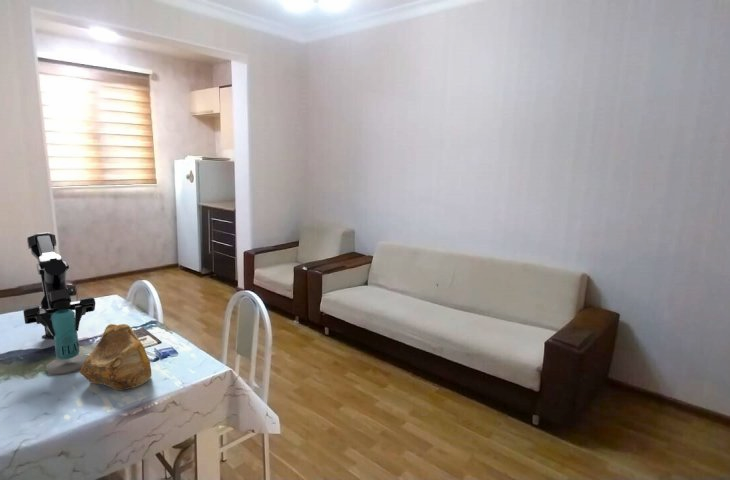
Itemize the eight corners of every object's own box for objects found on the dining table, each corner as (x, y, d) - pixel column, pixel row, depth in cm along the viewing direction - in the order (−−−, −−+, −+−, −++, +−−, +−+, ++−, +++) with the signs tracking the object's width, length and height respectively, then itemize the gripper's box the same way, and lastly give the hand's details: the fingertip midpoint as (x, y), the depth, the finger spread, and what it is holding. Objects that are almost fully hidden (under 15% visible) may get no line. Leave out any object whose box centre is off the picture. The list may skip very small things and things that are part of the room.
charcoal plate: (36, 373, 131) (36, 369, 131) (68, 355, 143) (68, 352, 142) (70, 376, 129) (69, 373, 129) (100, 358, 141) (99, 355, 141)
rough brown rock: (76, 376, 131) (66, 333, 127) (134, 356, 142) (126, 315, 138) (95, 411, 115) (84, 363, 111) (158, 384, 126) (150, 340, 122)
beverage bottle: (60, 366, 131) (52, 306, 127) (53, 360, 135) (44, 301, 131) (84, 358, 136) (77, 300, 132) (76, 352, 140) (68, 296, 136)
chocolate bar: (143, 327, 166) (161, 341, 154) (143, 330, 166) (161, 343, 154) (118, 334, 159) (135, 349, 147) (118, 336, 160) (135, 351, 147)
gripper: (19, 284, 127) (27, 329, 121) (91, 273, 140) (101, 314, 134) (21, 301, 135) (28, 345, 129) (89, 290, 147) (99, 329, 141)
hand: (65, 333), depth 133 cm, fingers closed on beverage bottle, 6 cm apart
